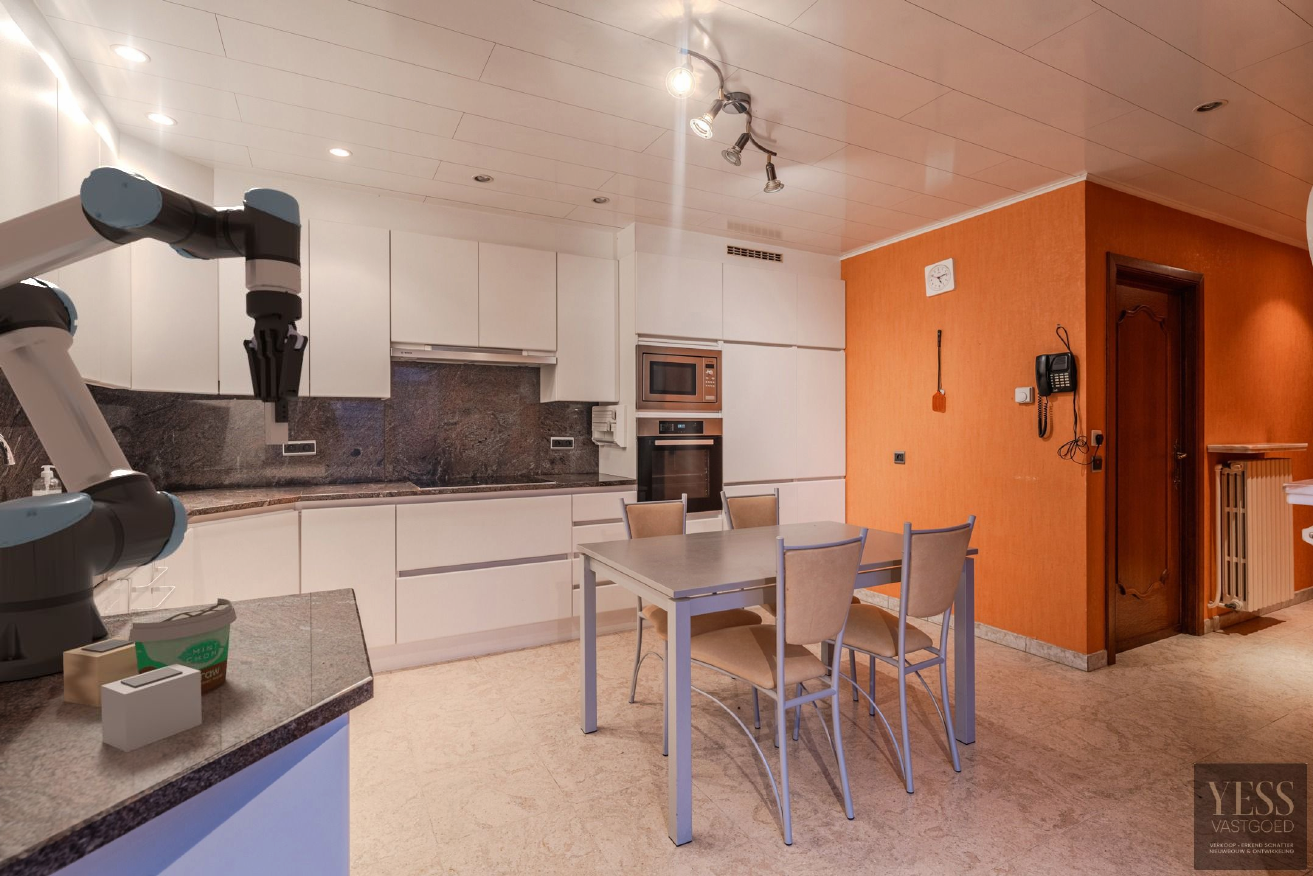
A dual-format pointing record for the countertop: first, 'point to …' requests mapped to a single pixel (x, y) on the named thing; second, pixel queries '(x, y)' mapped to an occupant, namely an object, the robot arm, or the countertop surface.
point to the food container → (188, 643)
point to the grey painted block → (150, 706)
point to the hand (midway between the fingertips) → (276, 444)
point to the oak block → (97, 669)
